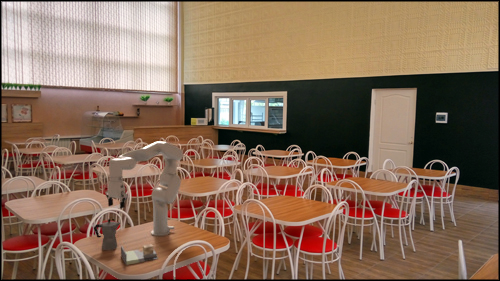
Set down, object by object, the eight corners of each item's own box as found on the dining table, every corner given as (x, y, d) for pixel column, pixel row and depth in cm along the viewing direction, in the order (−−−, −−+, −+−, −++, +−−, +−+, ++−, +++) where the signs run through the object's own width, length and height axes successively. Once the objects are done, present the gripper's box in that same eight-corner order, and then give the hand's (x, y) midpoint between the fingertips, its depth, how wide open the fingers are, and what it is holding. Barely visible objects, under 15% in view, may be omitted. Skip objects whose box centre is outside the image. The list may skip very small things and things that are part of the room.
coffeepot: (119, 243, 235) (119, 215, 233) (122, 248, 227) (121, 219, 225) (93, 247, 227) (92, 218, 226) (95, 252, 219) (94, 223, 218)
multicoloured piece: (152, 250, 224) (151, 240, 224) (158, 258, 212) (158, 248, 212) (121, 255, 216) (120, 245, 215) (125, 264, 203) (125, 254, 203)
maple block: (151, 250, 219) (151, 244, 219) (153, 252, 216) (153, 246, 215) (143, 252, 217) (143, 245, 216) (144, 254, 213) (144, 247, 213)
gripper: (131, 179, 223) (131, 207, 225) (110, 176, 231) (110, 203, 233) (122, 181, 217) (122, 210, 218) (100, 178, 224) (101, 206, 226)
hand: (116, 206), depth 226 cm, fingers open, 9 cm apart
